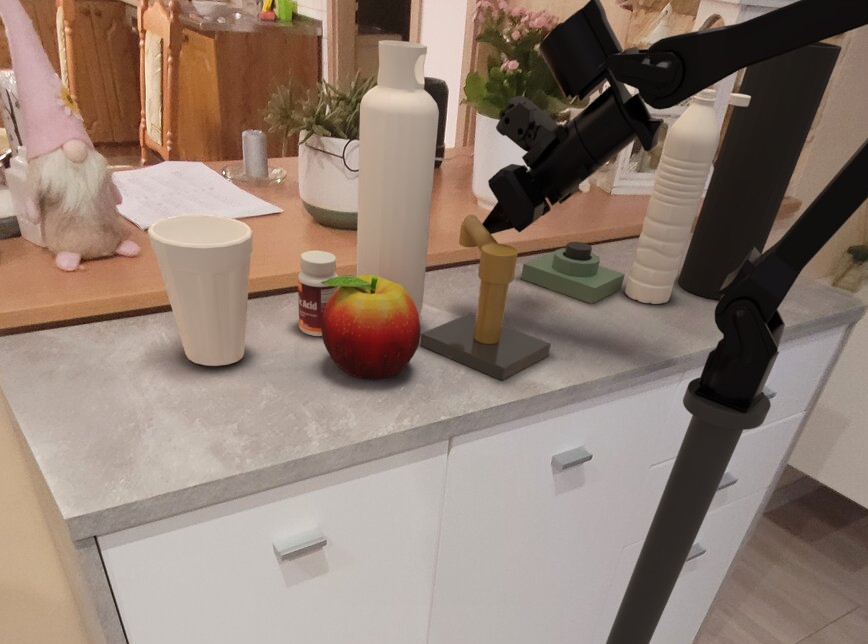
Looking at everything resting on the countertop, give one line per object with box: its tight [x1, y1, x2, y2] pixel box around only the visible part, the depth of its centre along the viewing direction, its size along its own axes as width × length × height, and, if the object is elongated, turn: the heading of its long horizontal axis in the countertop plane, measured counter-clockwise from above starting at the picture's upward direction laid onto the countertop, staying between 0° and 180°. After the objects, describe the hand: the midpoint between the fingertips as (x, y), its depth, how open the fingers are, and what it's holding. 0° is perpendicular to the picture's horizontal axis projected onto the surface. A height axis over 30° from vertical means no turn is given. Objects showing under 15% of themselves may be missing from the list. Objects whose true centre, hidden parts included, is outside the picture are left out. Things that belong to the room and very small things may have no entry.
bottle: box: [355, 39, 440, 331], centre depth 79 cm, size 8×8×28 cm
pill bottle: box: [297, 250, 340, 337], centre depth 84 cm, size 5×5×8 cm
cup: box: [147, 213, 254, 367], centre depth 75 cm, size 10×10×13 cm
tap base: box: [419, 279, 552, 381], centre depth 83 cm, size 12×10×8 cm
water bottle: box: [624, 88, 751, 305], centre depth 96 cm, size 9×6×25 cm
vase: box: [677, 41, 842, 301], centre depth 99 cm, size 10×10×30 cm
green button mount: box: [520, 247, 626, 304], centre depth 104 cm, size 12×9×4 cm
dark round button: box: [564, 241, 593, 261], centre depth 103 cm, size 4×4×2 cm
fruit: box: [320, 274, 421, 380], centre depth 77 cm, size 11×11×10 cm
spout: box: [458, 214, 519, 284], centre depth 84 cm, size 16×4×3 cm, turn 11°
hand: (483, 230), depth 89 cm, fingers closed
